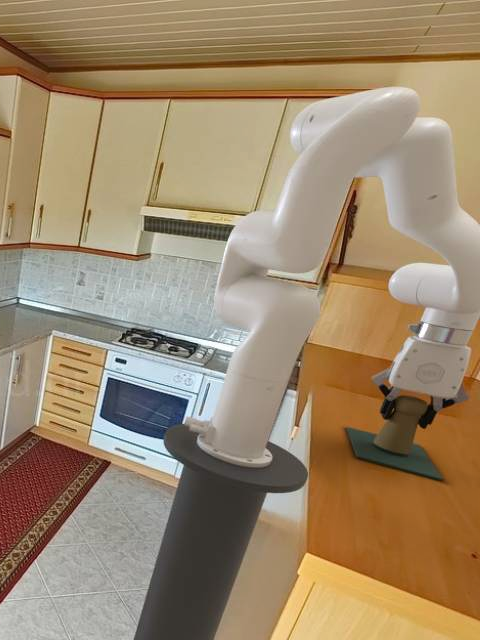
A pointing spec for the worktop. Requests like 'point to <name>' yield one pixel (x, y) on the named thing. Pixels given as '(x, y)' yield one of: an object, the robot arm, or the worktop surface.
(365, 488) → the worktop surface
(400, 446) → the cork
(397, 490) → the worktop surface
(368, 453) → the side mat
